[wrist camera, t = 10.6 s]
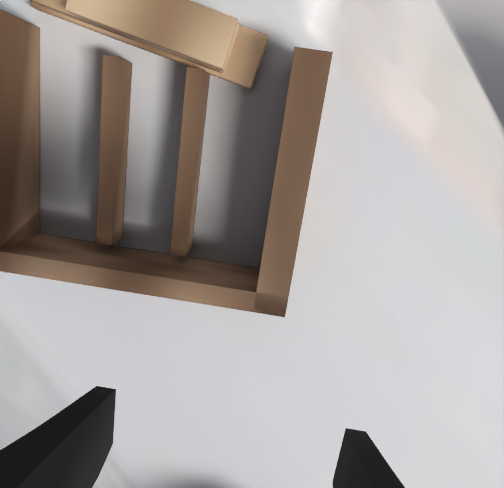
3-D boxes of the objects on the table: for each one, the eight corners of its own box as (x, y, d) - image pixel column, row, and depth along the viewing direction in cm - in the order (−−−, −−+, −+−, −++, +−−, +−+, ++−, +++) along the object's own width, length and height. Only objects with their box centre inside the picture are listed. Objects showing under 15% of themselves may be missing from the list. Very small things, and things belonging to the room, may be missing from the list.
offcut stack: (42, 12, 19) (0, -11, 16) (52, -41, 19) (10, -75, 16) (251, 90, 19) (247, 81, 17) (268, 41, 19) (266, 22, 16)
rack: (14, 246, 22) (-34, 265, 19) (9, 23, 19) (-49, -2, 16) (284, 289, 22) (284, 317, 18) (322, 68, 19) (332, 52, 15)
